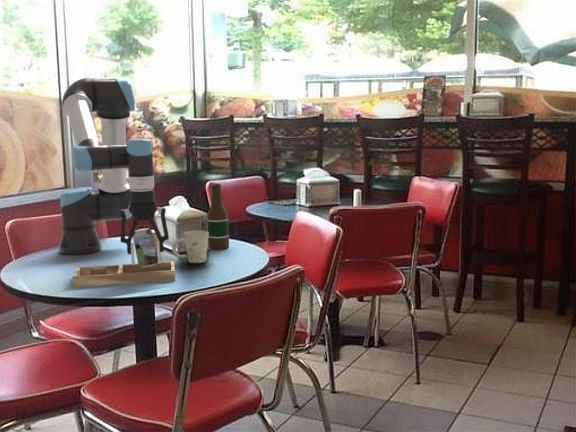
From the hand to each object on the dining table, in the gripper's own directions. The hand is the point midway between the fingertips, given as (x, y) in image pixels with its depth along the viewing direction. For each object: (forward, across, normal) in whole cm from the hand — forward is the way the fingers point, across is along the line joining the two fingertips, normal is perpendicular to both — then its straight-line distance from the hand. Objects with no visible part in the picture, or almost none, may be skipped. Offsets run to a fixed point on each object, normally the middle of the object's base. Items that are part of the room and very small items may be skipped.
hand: (146, 263), depth 219 cm
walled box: (+5, -6, 0) cm, 8 cm away
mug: (+6, +14, +22) cm, 27 cm away
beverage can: (+1, 0, 0) cm, 1 cm away
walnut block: (+4, -14, 0) cm, 15 cm away
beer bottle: (+5, +26, +42) cm, 49 cm away
